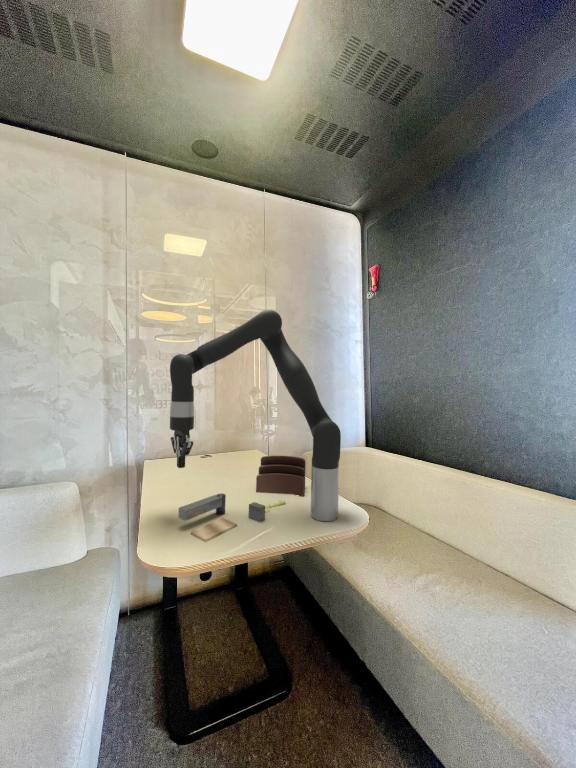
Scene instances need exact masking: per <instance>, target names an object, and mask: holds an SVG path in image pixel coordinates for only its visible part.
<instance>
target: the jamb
mask: <svg viewBox="0 0 576 768" xmlns="http://www.w3.org/2000/svg"><path fill="white" fill-rule="evenodd" d="M264 505H265V504H262V505H261V503H258V502H256V501H253V502H251V503H249V504H248V519H251V520H254V521H256V522H258V523H261V522H263V521H265V520H266V513H265V512H266V508H265V506H264Z"/></svg>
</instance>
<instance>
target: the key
mask: <svg viewBox="0 0 576 768" xmlns="http://www.w3.org/2000/svg"><path fill="white" fill-rule="evenodd" d="M286 503H287V502H286V500H282V499H281V500H279V501H278V502H276V503H273V504H268V505H266V504H261V503H260V504H261V505H264V506H265V509H266V510H267V511H266V510H265V514H267V513H270V509H272V508H275V507H280V506H283V505H286Z"/></svg>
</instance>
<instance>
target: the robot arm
mask: <svg viewBox="0 0 576 768" xmlns="http://www.w3.org/2000/svg"><path fill="white" fill-rule="evenodd" d="M282 326H283V319H282V317H281V315H280V313H279V312H277V311H275V310H272V309H264V310H263V311H260V312H259V313H258V314H256V315H255V316H253V317H252V318H251V319H249V320H248V321H246V322H244V323H242V325H240V326H237V327H235V328H234V329H232V330H230V331H228V332H227V333H224V334H222V335H220V336H218V337H216V338H214V339H211V340H209V341H206V342H205V343H203V344H201V345H199V346H198V347H197V348H196V349H195V350H192V351H191V352H189V353H187V354H182V353H180V354H179V353H178V354H176V355H174V356H173V357H172V359H171V361H170V364H169V373H170V374H169V375H170V382H171V383H170V384H171V394H170V396H171V398H170V400H171V401H170V407H169V409H170V410H169V429H170V430H171V431H174V432H173V436H171V437H170V441H171V446H172V449H173V453H174V454H175V456H176V467H177V468H178V469H184V468H185V467H186V457H187V456H189V455H190V453H191V450H192V448H193V446H194V440H192V441H191V439H190V438H191V435H190V431H193V430H194V428H195V404H194V403H195V402H194V401H195V399H194V398H195V388H194V385H193V374H195V373H198V372H199V371H200V370H202V369H204V368H206V367H207V366H209V365H213V364H214V363H217V362H218V361H221V360H223V359H225V358H226V357H228V356H229V355H232V354H233V353H235V352H236V351H237V350H239V349H241V348H242V347H244V346H245V345H247V344H250V343H252V342H254V341H257V340H260V341H261V342H262V343H263V345H264V346H265V348H266V349H267V351H268V352H269V355H270V356H271V358H272V361H273V363H274V365H275V367H276V370H277V372H278V375H279V376H280V378H281V380H282V382H283V385H284V387H285V388H286V390H287V391H288V393H289V394H290V396H291V398H292V399H293V401H294V402H295V404H296V405H297V406H298V408H299V409H300V411H301V413H302V414H303V416H304V417H305V420H306V422H307V424H308V427H309V429H310V432H311V435H312V438H313V439H312V457H311V478H310V479H311V481H310V482H311V483H310V484H311V485H310V487H311V488H310V517H311V518H312V519H314V520H316V521H320V522H332V521H333V522H334V521H335V520H336V518H337V519H338V514H339V469H340V468H339V465H340V464H339V463H340V459H341V443H342V440H341V439H342V437H341V436H342V435H341V430H340V427H339V425H338V424H337V423H336V422H334V421H333V419H331V417H330V416H329V415H328V412H327V410H325V408H324V406H323V405H322V403H321V401H320V397H319V395H318V392H317V389H316V386H315V384H314V382H313V379H312V377H311V375H310V373H309V371H308V370H307V368H306V366H305V365H304V363H303V361H302V360H301V359H300V358H299V357H298V356H297V354H296V353H295V352H294V351H293V350H292V348H291V347H290V345H289V343H288V342H287V339H286V337H285V335H284V333H283V330H282Z"/></svg>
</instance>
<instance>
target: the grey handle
mask: <svg viewBox="0 0 576 768" xmlns="http://www.w3.org/2000/svg"><path fill="white" fill-rule="evenodd" d="M226 496H227V495H226V493H218V494H214V495H210V496H207V497H206V498H203V499H200V500H197V501H193V502H192V503H188V504H185V505H183V506H180V507H178V518H179V519H180V520H182V521H184V522H186V521H188V520H191V519H193V518H196V517H198V516H201V515H204V514H206V513H208V512H211V511H214V510H215V514H216V515H217V516H218V515H219V516H222V515H225V514H226V498H227V497H226Z"/></svg>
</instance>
